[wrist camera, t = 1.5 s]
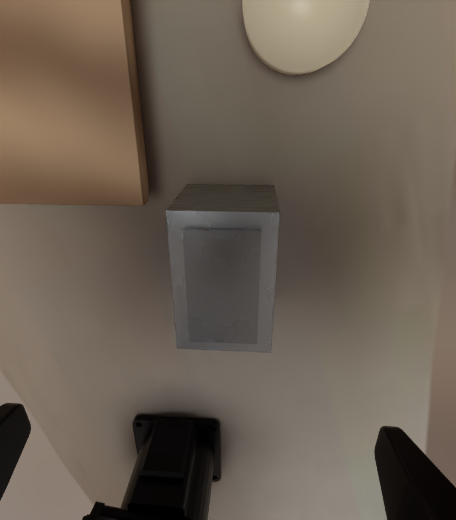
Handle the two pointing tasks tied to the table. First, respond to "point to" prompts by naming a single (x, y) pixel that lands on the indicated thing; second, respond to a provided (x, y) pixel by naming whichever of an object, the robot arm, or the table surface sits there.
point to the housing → (224, 266)
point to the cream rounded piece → (302, 31)
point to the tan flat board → (70, 104)
